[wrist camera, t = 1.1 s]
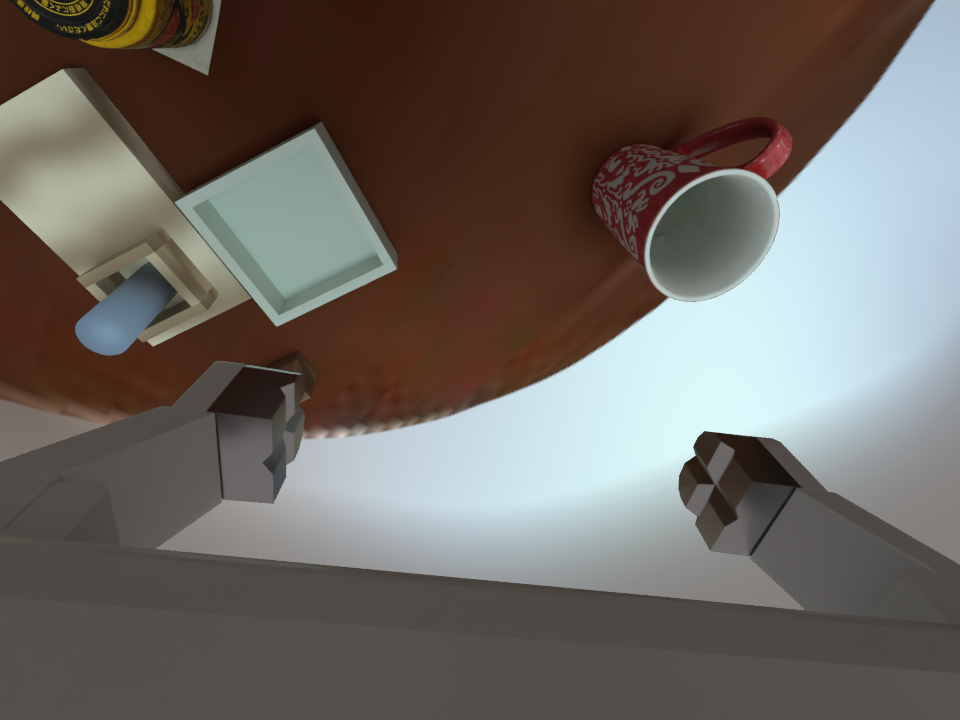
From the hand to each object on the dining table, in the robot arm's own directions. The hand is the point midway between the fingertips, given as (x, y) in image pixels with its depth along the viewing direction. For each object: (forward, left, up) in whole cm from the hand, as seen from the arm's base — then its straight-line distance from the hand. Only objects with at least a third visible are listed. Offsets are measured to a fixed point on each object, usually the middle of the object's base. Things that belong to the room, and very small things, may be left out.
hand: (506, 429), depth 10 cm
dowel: (0, -24, -31) cm, 39 cm away
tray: (+1, -12, -34) cm, 36 cm away
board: (-5, -24, -34) cm, 42 cm away
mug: (+10, +16, -34) cm, 39 cm away
